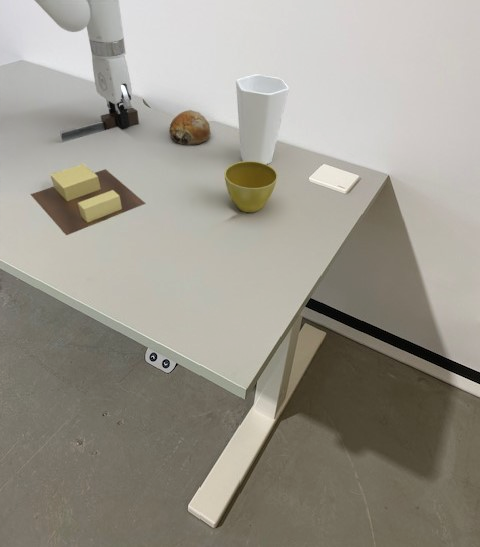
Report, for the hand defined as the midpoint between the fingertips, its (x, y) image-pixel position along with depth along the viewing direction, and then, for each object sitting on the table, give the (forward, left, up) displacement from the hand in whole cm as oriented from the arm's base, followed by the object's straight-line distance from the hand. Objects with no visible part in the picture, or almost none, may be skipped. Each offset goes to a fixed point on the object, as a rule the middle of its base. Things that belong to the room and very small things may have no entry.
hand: (120, 125), depth 107 cm
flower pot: (+3, -46, -1) cm, 46 cm away
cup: (+17, -33, -1) cm, 37 cm away
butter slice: (-22, -33, +1) cm, 39 cm away
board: (-22, -27, 0) cm, 35 cm away
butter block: (-22, -22, +1) cm, 32 cm away
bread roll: (+11, -15, -1) cm, 19 cm away
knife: (-5, 0, 0) cm, 5 cm away
